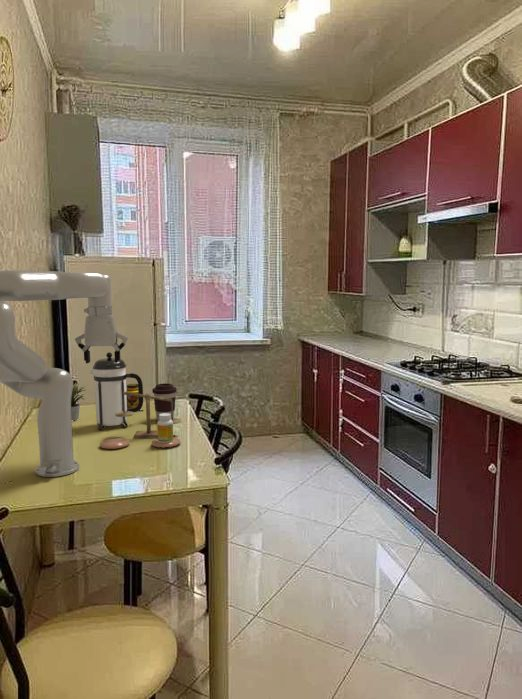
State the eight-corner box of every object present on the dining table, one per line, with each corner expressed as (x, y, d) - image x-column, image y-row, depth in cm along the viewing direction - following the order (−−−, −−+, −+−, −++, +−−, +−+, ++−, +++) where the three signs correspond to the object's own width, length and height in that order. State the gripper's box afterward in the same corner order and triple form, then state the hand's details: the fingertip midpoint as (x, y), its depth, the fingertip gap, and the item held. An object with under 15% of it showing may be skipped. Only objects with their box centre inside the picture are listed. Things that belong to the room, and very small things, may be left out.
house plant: (87, 423, 216) (85, 384, 214) (51, 425, 214) (49, 386, 212) (92, 415, 230) (90, 378, 228) (59, 417, 228) (57, 379, 226)
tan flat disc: (179, 448, 182) (178, 445, 182) (149, 449, 181) (149, 445, 181) (181, 440, 192) (181, 437, 192) (154, 441, 191) (154, 437, 191)
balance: (114, 439, 194) (112, 393, 192) (118, 434, 201) (116, 390, 199) (180, 437, 195) (179, 392, 193) (182, 432, 202) (181, 388, 200)
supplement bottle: (170, 444, 183) (169, 416, 182) (155, 443, 184) (154, 416, 183) (175, 439, 188) (174, 413, 187) (161, 438, 189) (160, 412, 188)
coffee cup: (161, 424, 215) (160, 387, 213) (149, 419, 223) (147, 384, 221) (181, 419, 222) (180, 384, 220) (169, 415, 229) (168, 381, 227)
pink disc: (126, 450, 181) (126, 446, 181) (96, 450, 181) (96, 447, 180) (131, 441, 191) (131, 438, 191) (104, 442, 190) (103, 438, 190)
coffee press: (114, 433, 202) (110, 355, 198) (84, 428, 210) (81, 353, 206) (145, 423, 217) (142, 350, 213) (116, 418, 225) (113, 348, 221)
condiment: (129, 413, 235) (128, 386, 233) (122, 409, 241) (121, 383, 240) (144, 410, 239) (143, 384, 237) (137, 407, 246) (136, 382, 244)
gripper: (70, 312, 172) (73, 364, 174) (124, 312, 173) (126, 363, 175) (77, 311, 179) (79, 361, 181) (128, 311, 180) (130, 360, 182)
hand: (102, 362), depth 178 cm, fingers open, 9 cm apart
